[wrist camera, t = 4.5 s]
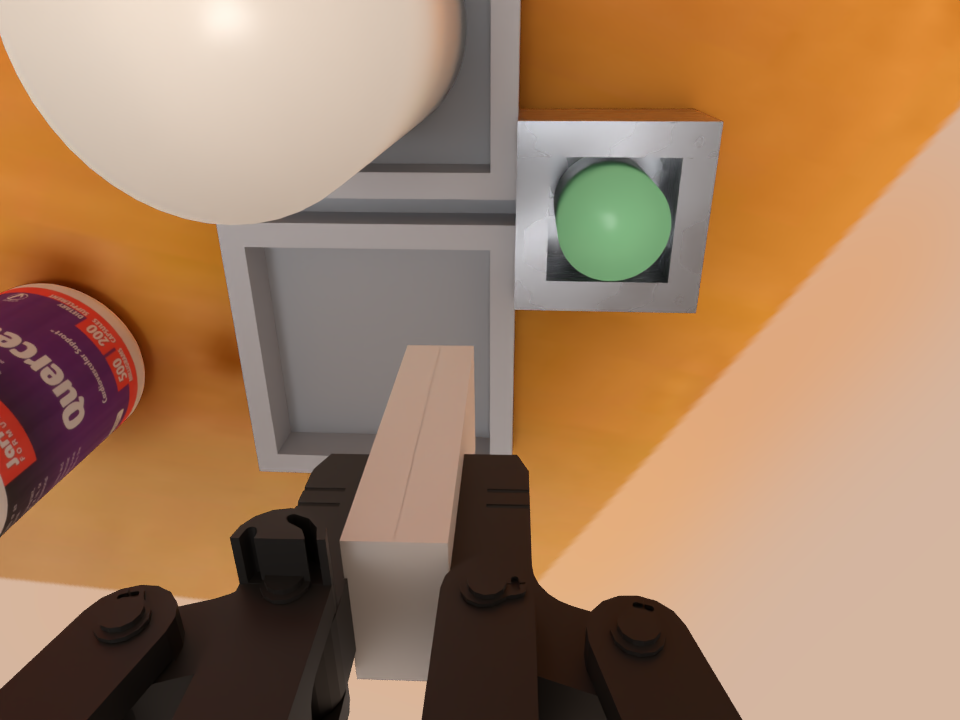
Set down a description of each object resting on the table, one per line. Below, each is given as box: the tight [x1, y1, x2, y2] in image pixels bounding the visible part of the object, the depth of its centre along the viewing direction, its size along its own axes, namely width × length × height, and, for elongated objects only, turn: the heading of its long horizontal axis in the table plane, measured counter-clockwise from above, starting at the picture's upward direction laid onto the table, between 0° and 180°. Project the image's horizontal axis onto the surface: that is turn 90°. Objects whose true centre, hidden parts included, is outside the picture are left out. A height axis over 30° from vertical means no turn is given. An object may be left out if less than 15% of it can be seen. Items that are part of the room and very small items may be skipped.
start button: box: [553, 157, 671, 281], centre depth 26 cm, size 4×4×4 cm
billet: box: [0, 0, 467, 225], centre depth 19 cm, size 8×8×14 cm
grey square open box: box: [514, 109, 723, 313], centre depth 27 cm, size 7×7×4 cm
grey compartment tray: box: [216, 0, 521, 473], centre depth 28 cm, size 12×26×3 cm, turn 0°
